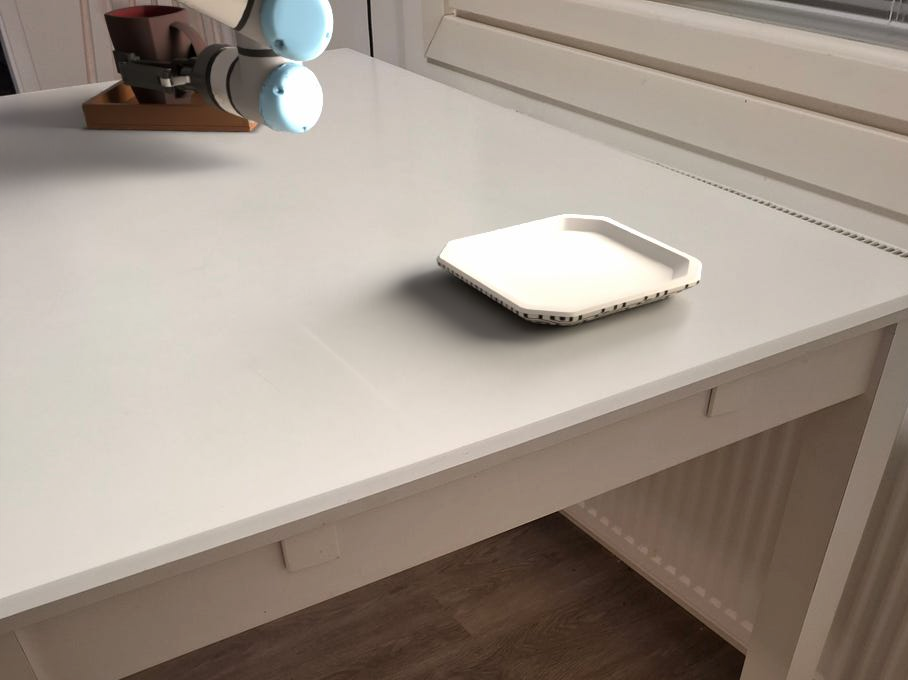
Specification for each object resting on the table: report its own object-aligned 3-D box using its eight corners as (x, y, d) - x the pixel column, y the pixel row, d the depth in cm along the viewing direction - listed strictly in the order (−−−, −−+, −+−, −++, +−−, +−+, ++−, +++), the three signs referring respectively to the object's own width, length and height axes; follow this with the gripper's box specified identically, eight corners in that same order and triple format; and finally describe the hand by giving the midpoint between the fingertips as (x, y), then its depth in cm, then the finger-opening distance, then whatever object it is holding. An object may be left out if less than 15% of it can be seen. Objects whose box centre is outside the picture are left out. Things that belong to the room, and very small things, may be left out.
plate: (420, 269, 89) (419, 246, 88) (586, 229, 97) (588, 207, 96) (541, 348, 76) (542, 323, 75) (721, 294, 84) (725, 270, 83)
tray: (87, 128, 128) (81, 104, 126) (138, 95, 142) (133, 72, 140) (250, 131, 126) (246, 106, 124) (285, 97, 141) (281, 74, 138)
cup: (162, 98, 138) (141, 3, 130) (236, 107, 134) (219, 9, 126) (117, 113, 132) (92, 14, 124) (193, 123, 127) (172, 21, 119)
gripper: (163, 129, 115) (85, 99, 127) (308, 99, 126) (223, 73, 138) (148, 60, 110) (68, 35, 122) (300, 35, 121) (213, 14, 133)
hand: (150, 55), depth 130 cm, fingers closed on cup, 10 cm apart
